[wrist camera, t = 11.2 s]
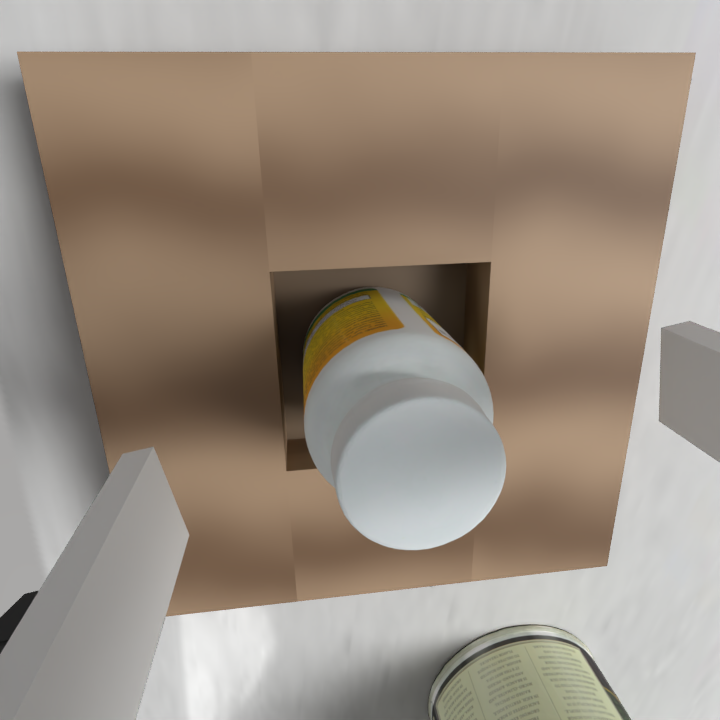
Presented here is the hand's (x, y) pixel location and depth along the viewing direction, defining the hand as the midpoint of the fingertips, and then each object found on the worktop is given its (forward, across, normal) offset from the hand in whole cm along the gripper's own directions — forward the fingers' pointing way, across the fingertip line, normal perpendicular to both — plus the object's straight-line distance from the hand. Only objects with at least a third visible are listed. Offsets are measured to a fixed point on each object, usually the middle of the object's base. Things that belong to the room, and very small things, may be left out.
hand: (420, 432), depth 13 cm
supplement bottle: (+8, 0, 0) cm, 8 cm away
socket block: (+9, 0, 0) cm, 9 cm away
